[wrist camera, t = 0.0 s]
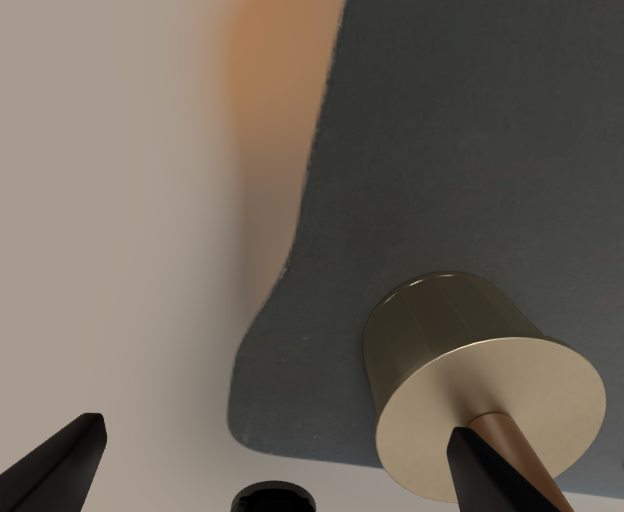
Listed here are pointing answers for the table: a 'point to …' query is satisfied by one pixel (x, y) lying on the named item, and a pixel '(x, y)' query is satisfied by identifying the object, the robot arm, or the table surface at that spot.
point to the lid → (491, 411)
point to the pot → (432, 322)
